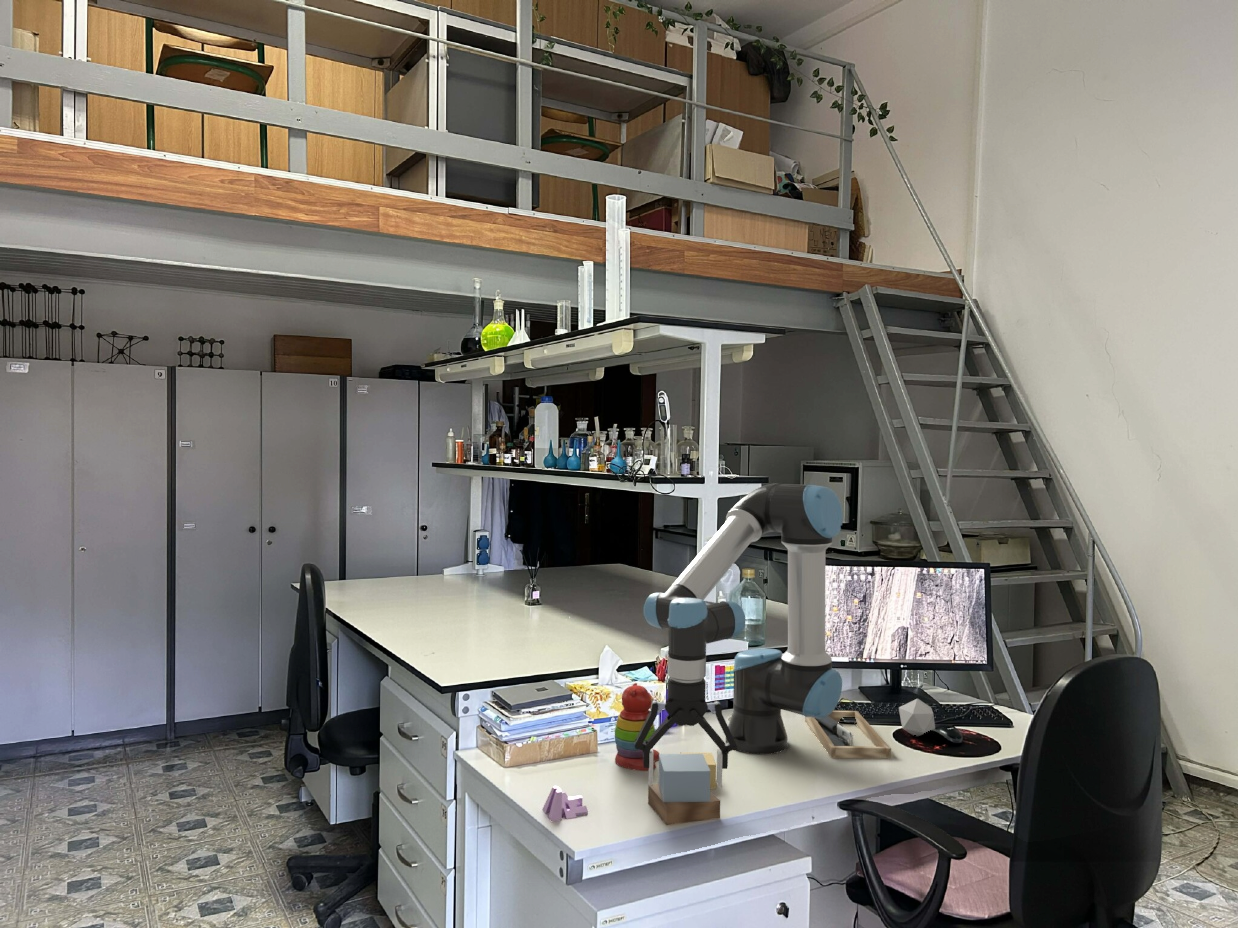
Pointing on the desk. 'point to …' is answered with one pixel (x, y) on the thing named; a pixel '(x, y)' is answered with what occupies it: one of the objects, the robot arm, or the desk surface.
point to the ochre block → (711, 765)
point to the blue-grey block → (684, 778)
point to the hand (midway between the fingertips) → (684, 783)
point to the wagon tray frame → (851, 751)
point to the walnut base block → (682, 808)
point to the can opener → (836, 732)
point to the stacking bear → (633, 727)
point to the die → (917, 717)
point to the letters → (563, 805)
